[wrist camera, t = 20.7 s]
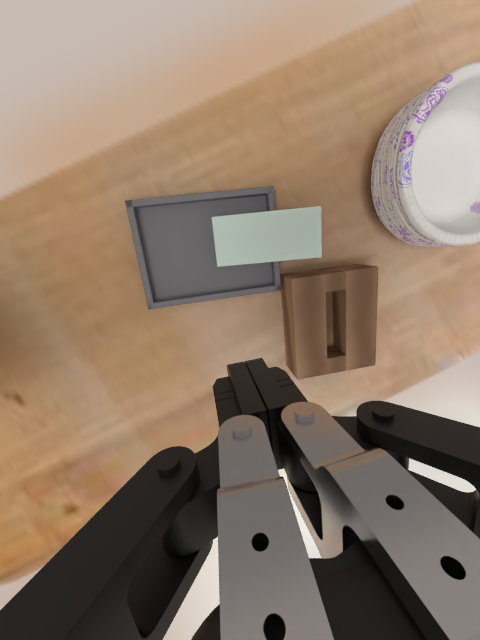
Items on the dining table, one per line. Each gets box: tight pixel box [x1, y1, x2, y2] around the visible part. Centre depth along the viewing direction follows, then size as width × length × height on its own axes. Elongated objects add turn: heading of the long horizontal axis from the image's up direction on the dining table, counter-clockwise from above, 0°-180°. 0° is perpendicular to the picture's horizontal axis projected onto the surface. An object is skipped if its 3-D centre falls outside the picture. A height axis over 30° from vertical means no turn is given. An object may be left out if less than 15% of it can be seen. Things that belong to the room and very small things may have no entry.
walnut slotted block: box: [280, 264, 378, 380], centre depth 33 cm, size 10×12×4 cm
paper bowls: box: [371, 61, 480, 247], centre depth 28 cm, size 15×15×8 cm
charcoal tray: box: [125, 186, 281, 309], centre depth 30 cm, size 15×11×2 cm
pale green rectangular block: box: [212, 206, 322, 267], centre depth 29 cm, size 2×5×11 cm
